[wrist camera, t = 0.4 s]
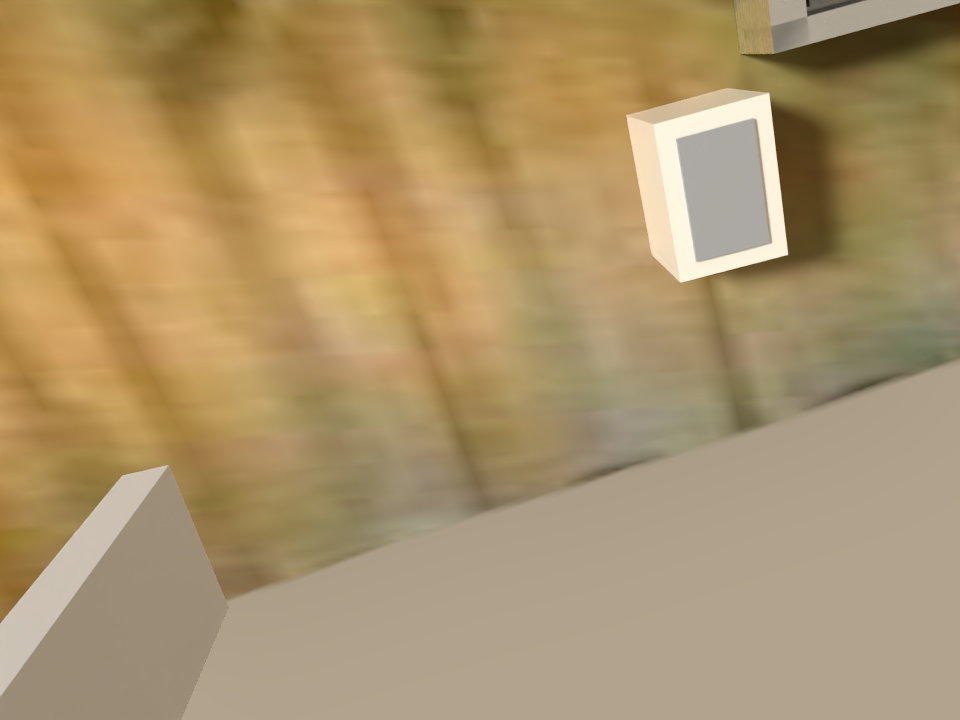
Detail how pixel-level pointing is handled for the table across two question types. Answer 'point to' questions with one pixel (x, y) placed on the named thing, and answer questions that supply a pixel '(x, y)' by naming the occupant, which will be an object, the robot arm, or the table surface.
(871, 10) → the tray
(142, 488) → the robot arm
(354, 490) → the table surface
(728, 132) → the white block
